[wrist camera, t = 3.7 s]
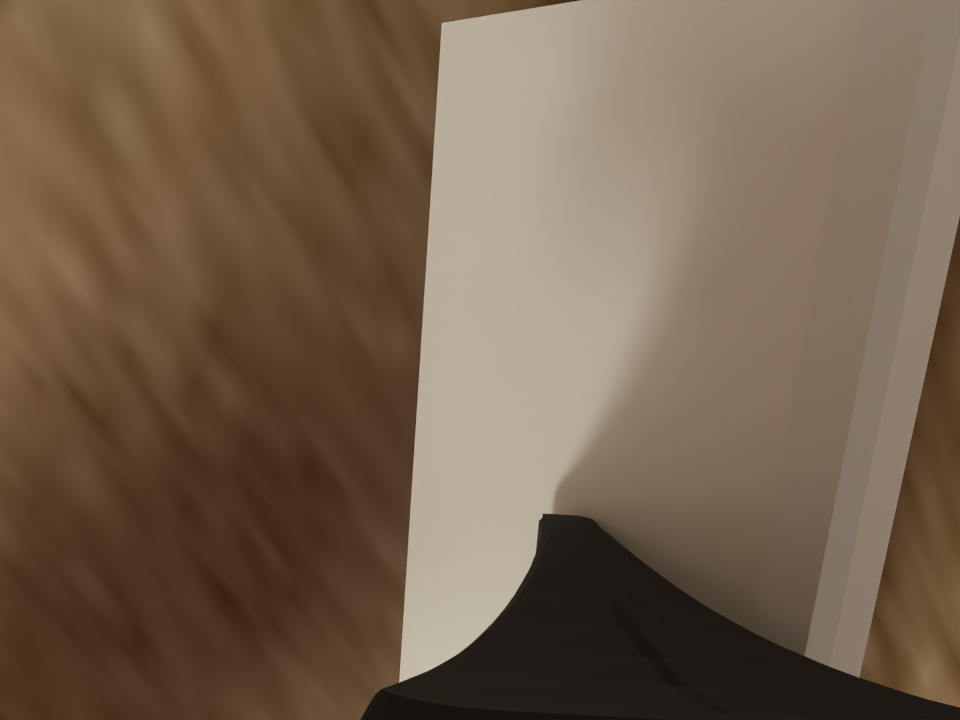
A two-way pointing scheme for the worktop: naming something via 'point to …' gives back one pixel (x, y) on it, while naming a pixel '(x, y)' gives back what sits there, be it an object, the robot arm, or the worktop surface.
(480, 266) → the panel
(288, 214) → the worktop surface
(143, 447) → the worktop surface
